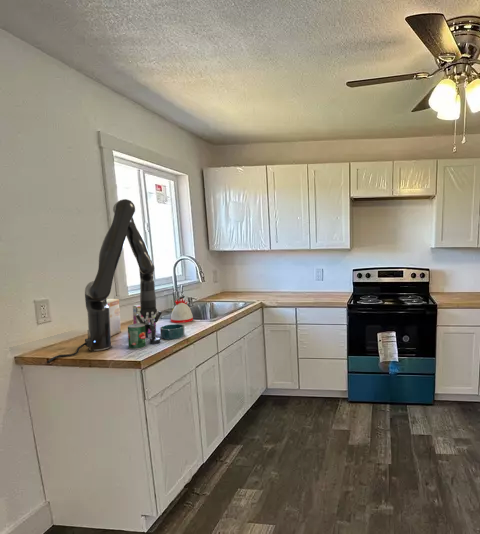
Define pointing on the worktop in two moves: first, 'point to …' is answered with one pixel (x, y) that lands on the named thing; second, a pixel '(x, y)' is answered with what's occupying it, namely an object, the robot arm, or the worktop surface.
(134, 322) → the candy bar box
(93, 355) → the worktop surface
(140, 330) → the canned tomato
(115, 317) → the coffeecake box
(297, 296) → the worktop surface
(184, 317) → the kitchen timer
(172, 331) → the bowl
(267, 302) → the worktop surface
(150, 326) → the dark elongated piece
